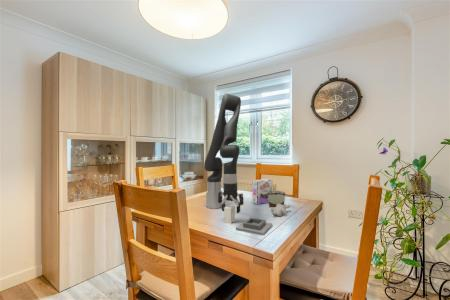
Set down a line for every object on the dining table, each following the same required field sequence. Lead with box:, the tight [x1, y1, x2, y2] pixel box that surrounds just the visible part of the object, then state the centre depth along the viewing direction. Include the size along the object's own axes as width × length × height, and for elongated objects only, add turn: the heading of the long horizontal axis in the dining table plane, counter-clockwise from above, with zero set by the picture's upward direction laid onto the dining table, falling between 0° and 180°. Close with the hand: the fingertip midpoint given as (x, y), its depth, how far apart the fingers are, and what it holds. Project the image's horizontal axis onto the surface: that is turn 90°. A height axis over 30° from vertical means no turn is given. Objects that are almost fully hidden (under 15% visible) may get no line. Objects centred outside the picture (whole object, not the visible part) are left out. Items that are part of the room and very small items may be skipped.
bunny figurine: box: [270, 204, 291, 217], centre depth 130 cm, size 10×5×15 cm
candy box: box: [252, 178, 273, 206], centre depth 155 cm, size 14×6×16 cm, turn 117°
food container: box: [267, 190, 287, 209], centre depth 145 cm, size 12×6×10 cm, turn 84°
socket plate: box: [235, 217, 273, 236], centre depth 108 cm, size 14×14×3 cm
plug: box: [223, 204, 236, 224], centre depth 117 cm, size 4×5×8 cm
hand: (230, 211), depth 117 cm, fingers open, 8 cm apart
